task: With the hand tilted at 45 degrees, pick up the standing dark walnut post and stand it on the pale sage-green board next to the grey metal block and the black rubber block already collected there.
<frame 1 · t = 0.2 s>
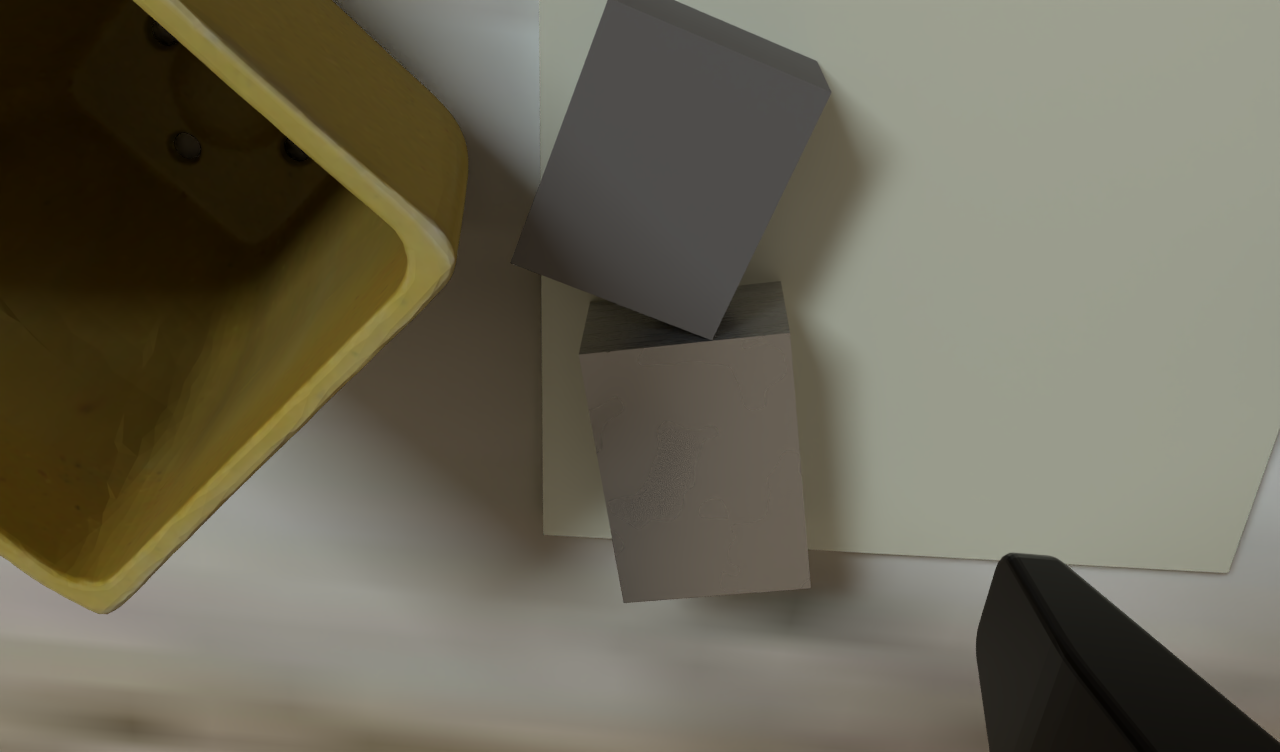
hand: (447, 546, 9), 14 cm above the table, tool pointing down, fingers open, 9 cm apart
grey metal block: (700, 415, 24), point 1 cm above the table, touching sage board
flower pot: (249, 88, 22), on the table
sage board: (924, 266, 23), on the table
black rubber block: (667, 142, 21), point 1 cm above the table, touching sage board
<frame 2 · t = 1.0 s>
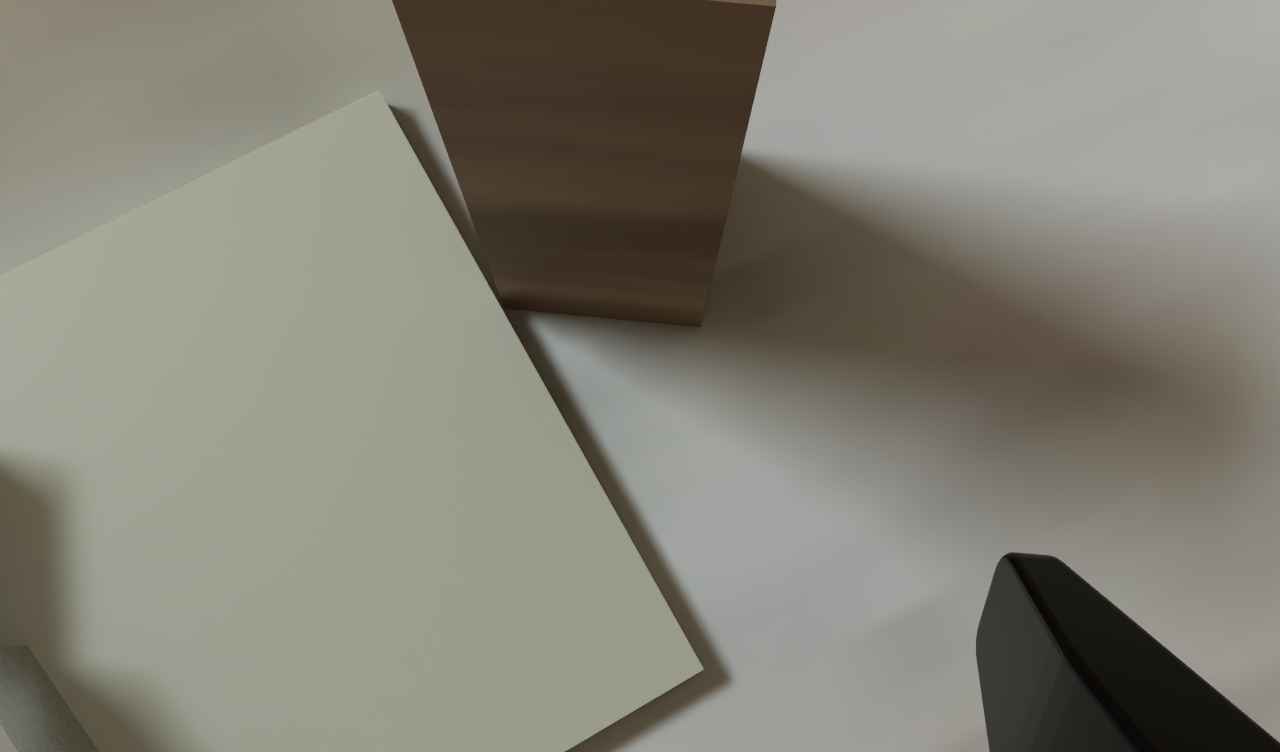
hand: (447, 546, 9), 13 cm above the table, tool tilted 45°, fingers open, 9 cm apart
walnut post: (612, 225, 24), on the table
sage board: (181, 557, 22), on the table
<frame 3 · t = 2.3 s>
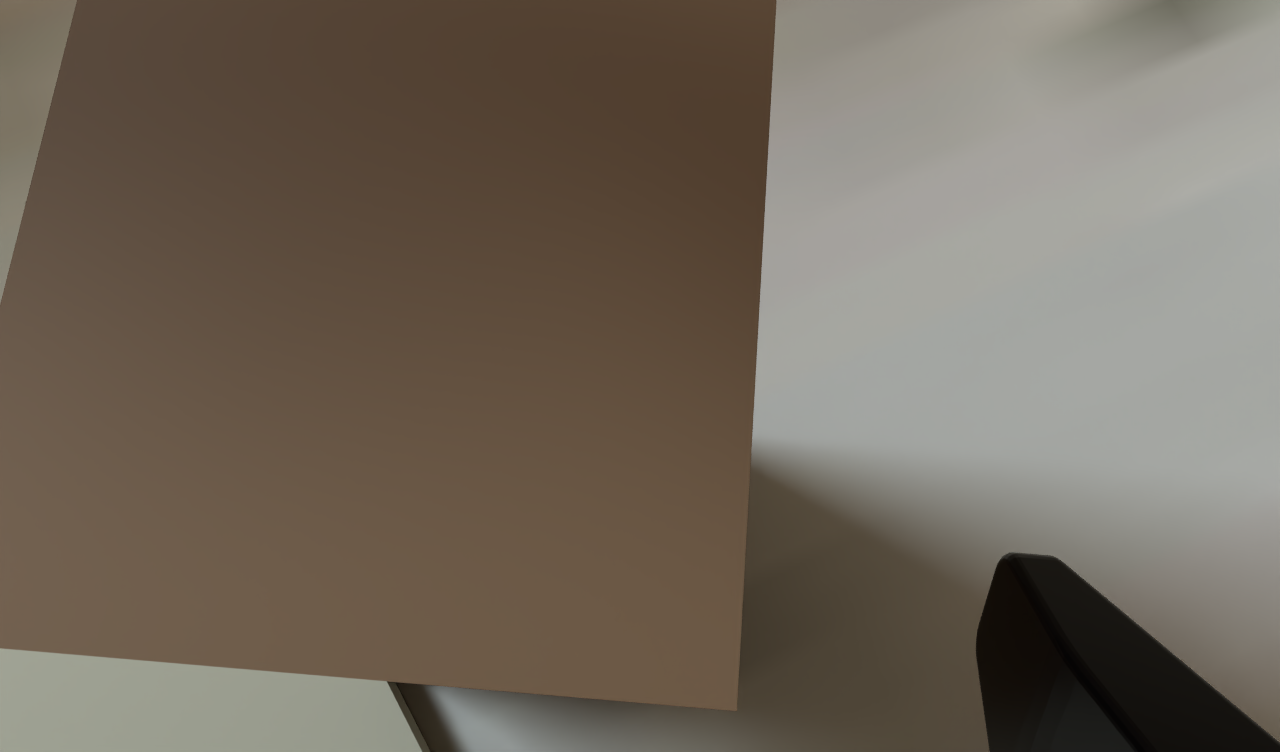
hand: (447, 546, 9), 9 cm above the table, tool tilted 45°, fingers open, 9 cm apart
walnut post: (540, 543, 18), on the table
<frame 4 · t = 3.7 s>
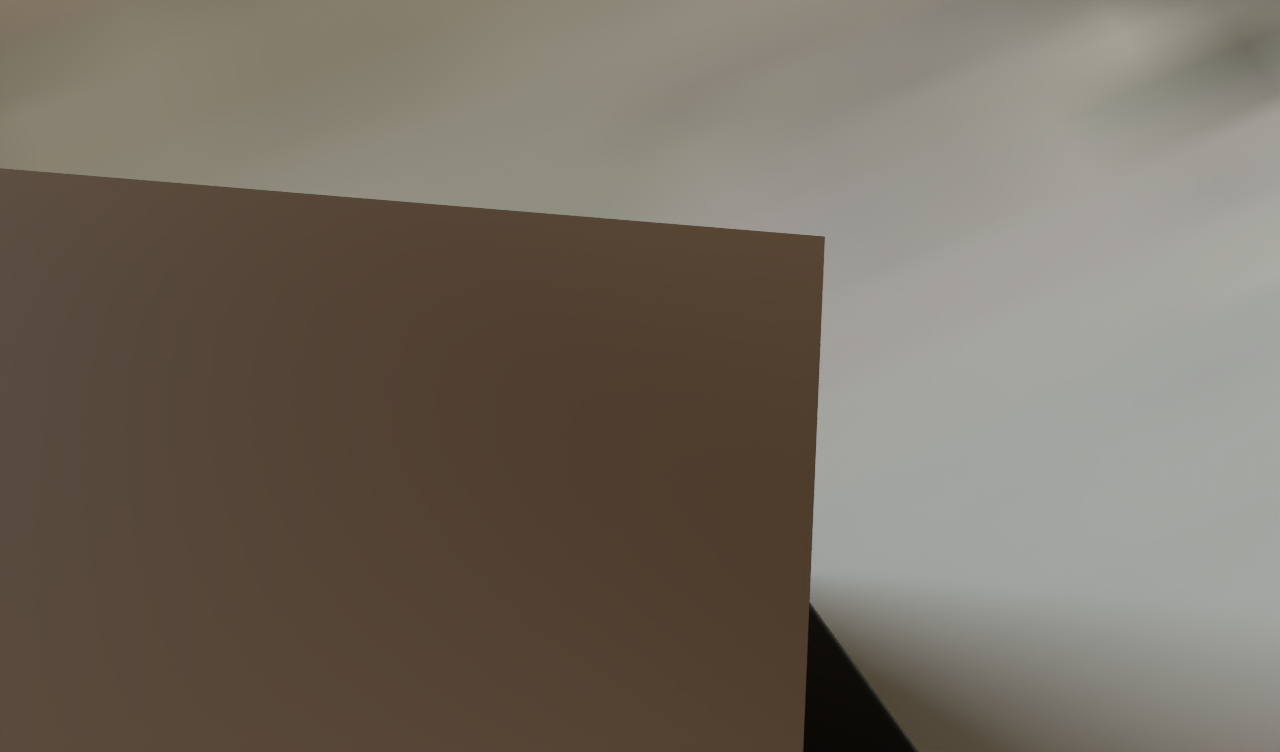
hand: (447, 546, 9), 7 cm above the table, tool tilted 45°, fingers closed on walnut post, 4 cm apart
walnut post: (509, 699, 15), on the table, touching gripper
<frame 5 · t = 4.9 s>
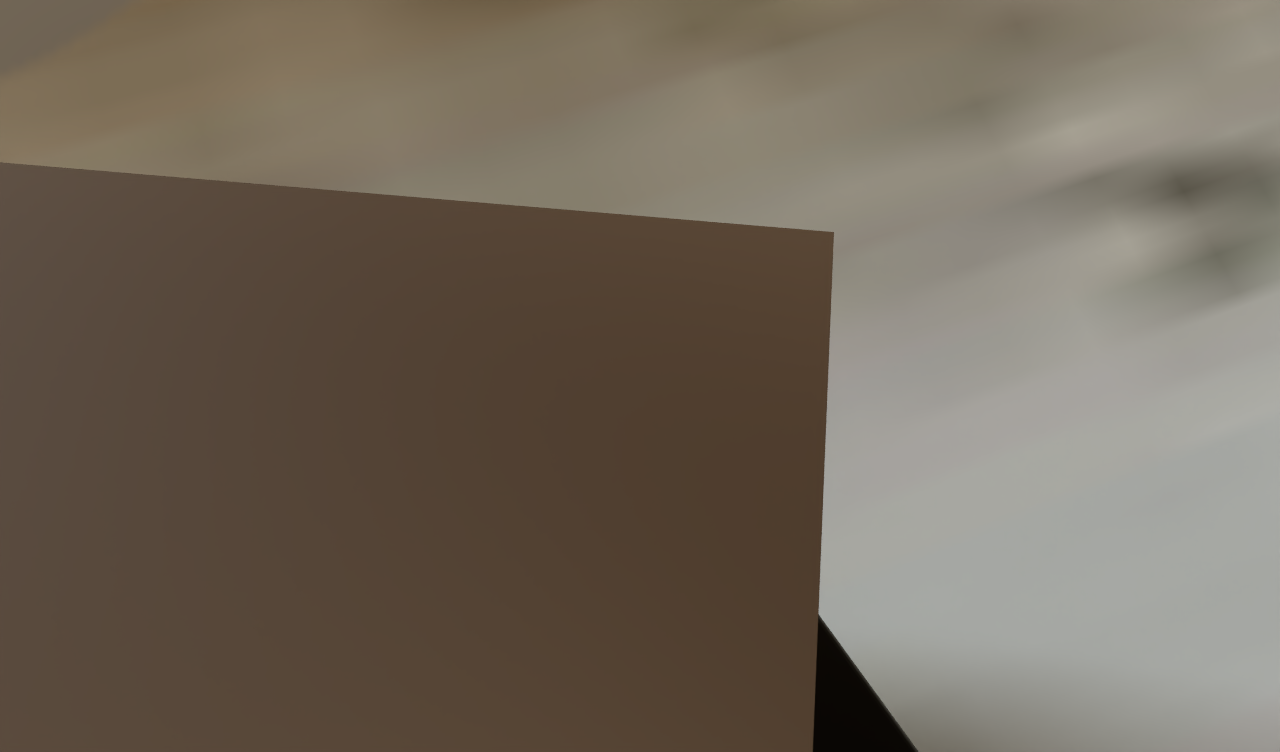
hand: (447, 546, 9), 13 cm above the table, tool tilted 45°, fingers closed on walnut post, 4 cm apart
walnut post: (511, 697, 15), point 7 cm above the table, touching gripper
when the fingers open (9 cm above the table, at t = 6.5 s): walnut post drops 2 cm, resting on sage board.
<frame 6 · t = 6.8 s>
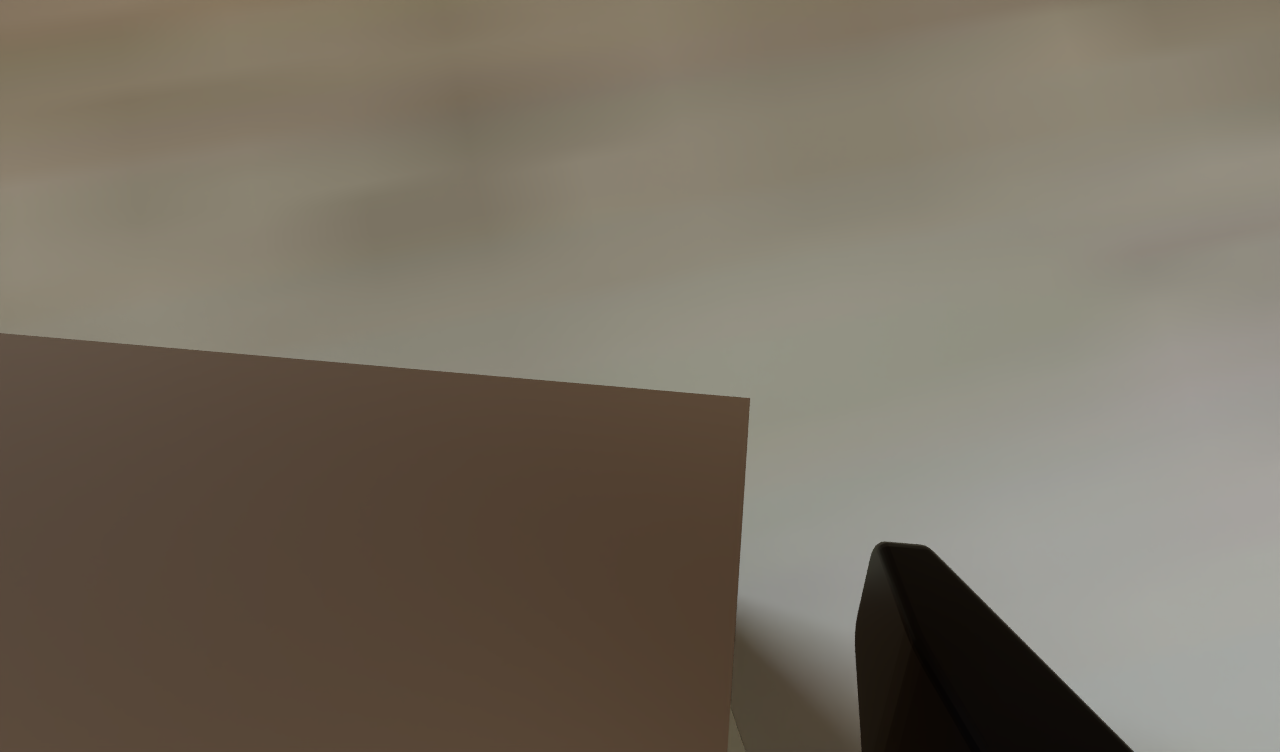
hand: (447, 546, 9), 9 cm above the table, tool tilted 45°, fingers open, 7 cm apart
walnut post: (521, 691, 17), point 1 cm above the table, touching sage board
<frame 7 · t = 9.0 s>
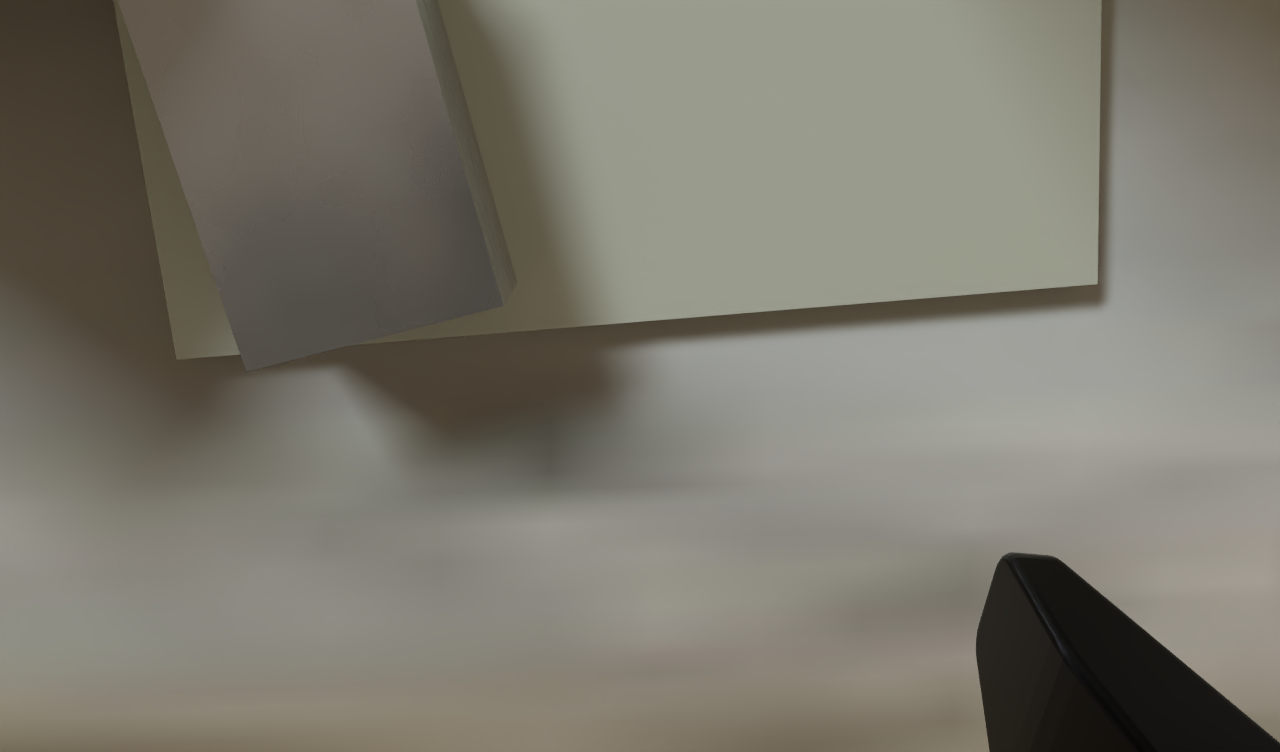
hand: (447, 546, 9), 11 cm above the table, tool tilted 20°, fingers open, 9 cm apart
grey metal block: (351, 139, 18), point 1 cm above the table, touching sage board
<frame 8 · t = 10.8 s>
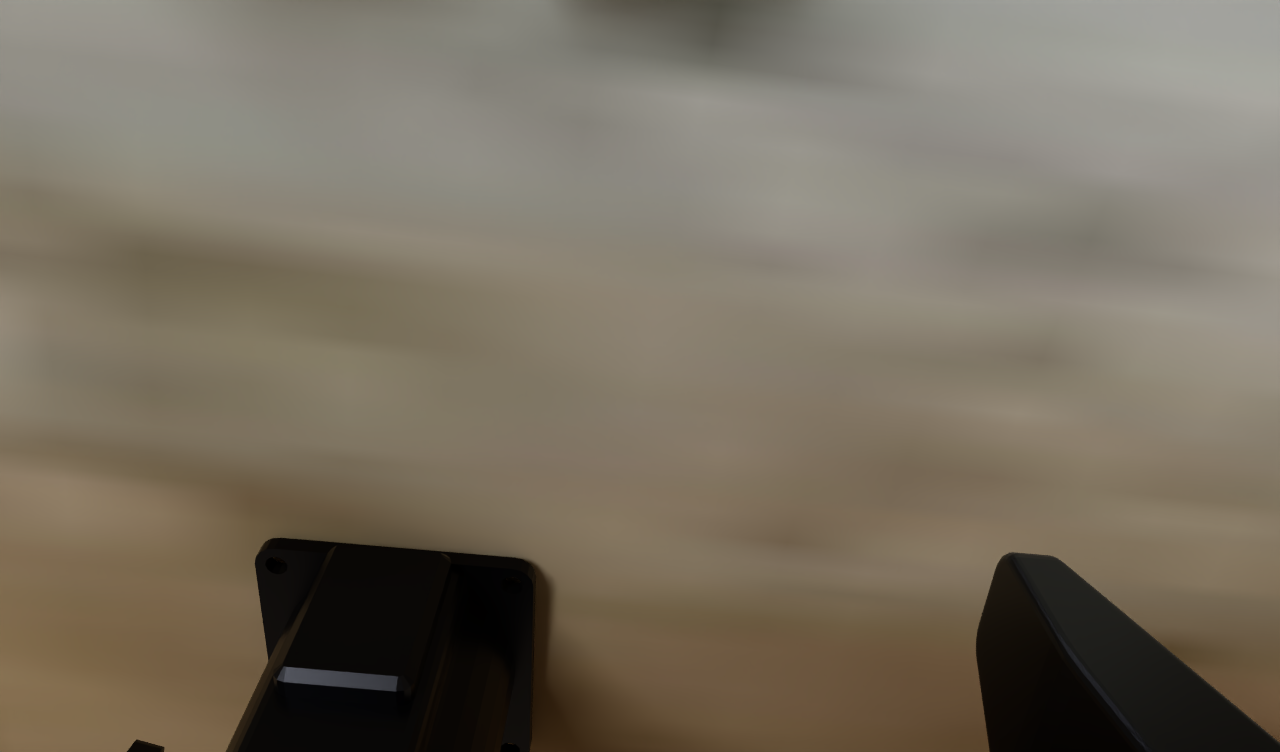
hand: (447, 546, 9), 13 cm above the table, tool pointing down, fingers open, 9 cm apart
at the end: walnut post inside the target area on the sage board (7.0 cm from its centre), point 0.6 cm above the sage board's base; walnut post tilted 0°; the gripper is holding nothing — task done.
